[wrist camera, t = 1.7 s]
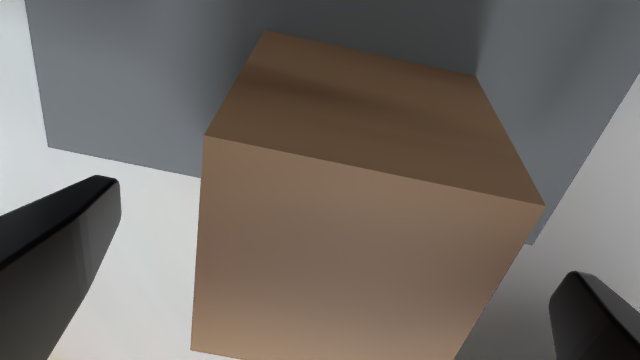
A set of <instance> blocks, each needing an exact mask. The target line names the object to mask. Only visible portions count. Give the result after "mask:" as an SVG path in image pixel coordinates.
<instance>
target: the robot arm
mask: <svg viewBox="0 0 640 360" xmlns="http://www.w3.org/2000/svg"><path fill="white" fill-rule="evenodd" d="M120 219H121V198H120V185H119V182H118V180H116V179H115V178H110V177H105V176H100V175H94V176H92V177H89V178H87V179H85V180H82V181H80V182H78V183H75V184H73V185H71V186H68V187H66V188H64V189H62V190H59V191H57V192H55V193H52V194H50V195H48V196H45V197H43V198H41V199H38V200H36V201H34V202H32V203H29V204H27V205H25V206H22V207H20V208H18V209H15V210H13V211H11V212H8V213H6V214H4V215H2V216H0V360H47V359H48V357H49V356H50V354H51V352H52V351H53V349H54V347H55V346H56V344H57V342H58V341H59V339H60V337H61V336H62V334H63V332H64V331H65V329H66V328H67V326H68V324H69V323H70V321H71V319H72V318H73V316H74V314H75V313H76V311H77V309H78V308H79V306H80V304H81V303H82V301H83V299H84V298H85V296H86V294H87V292H88V290H89V288H90V286H91V284H92V282H93V280H94V278H95V276H96V274H97V271H98V269H99V267H100V265H101V263H102V260H103V258H104V256H105V254H106V252H107V249H108V247H109V245H110V243H111V241H112V238H113V236H114V234H115V232H116V230H117V227H118V225H119V222H120ZM549 314H550V320H551V327H552V333H553V339H554V345H555V352H556V358H557V360H640V313H639V312H638V311H637V310H636V309H634V308H633V307H632V306H631V305H630V304H628V303H627V302H626V301H625V300H623V299H622V298H621V297H620V296H619V295H617V294H616V293H615V292H614V291H613V290H611V289H610V288H609V287H608V286H607V285H605V284H604V283H603V282H602V281H601V280H599V279H598V278H597V277H596V276H594V275H592V274H588V273H583V272H578V271H571V272H570V273H568V274H567V275H566V276H565V278H564V279H563V281H562V282H561V283H560V285H559V286H558V288H557V289H556V290H555V292H554V293H553V295H552V296H551V298H550V301H549Z"/></svg>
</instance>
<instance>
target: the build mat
mask: <svg viewBox="0 0 640 360" xmlns="http://www.w3.org/2000/svg"><path fill="white" fill-rule="evenodd" d="M25 5H26V12H27V18H28V24H29V30H30V37H31V43H32V49H33V55H34V62H35V68H36V74H37V80H38V87H39V93H40V99H41V105H42V112H43V118H44V124H45V131H46V137H47V143H48V147H50V148H55V149H60V150H65V151H70V152H75V153H80V154H85V155H90V156H95V157H100V158H105V159H109V160H114V161H119V162H124V163H129V164H134V165H139V166H144V167H149V168H154V169H159V170H164V171H169V172H174V173H179V174H183V175H188V176H193V177H198V178H201V172H202V156H203V140H204V134H205V132H206V131H207V129H208V127H209V125H210V124H211V122H212V120H213V118H214V117H215V115H216V113H217V112H218V110H219V108H220V106H221V105H222V103H223V101H224V99H225V98H226V96H227V94H228V93H229V91H230V89H231V87H232V86H233V84H234V82H235V80H236V79H237V77H238V75H239V74H240V72H241V70H242V68H243V67H244V65H245V63H246V61H247V60H248V58H249V56H250V55H251V53H252V51H253V49H254V48H255V46H256V44H257V42H258V41H259V39H260V37H261V36H262V34H263V32H264V30H268V31H273V32H277V33H282V34H286V35H291V36H295V37H300V38H304V39H309V40H314V41H318V42H323V43H327V44H332V45H336V46H341V47H345V48H350V49H354V50H359V51H363V52H368V53H373V54H377V55H382V56H386V57H391V58H395V59H400V60H404V61H409V62H413V63H418V64H422V65H427V66H432V67H436V68H441V69H445V70H450V71H454V72H459V73H463V74H468V75H472V76H476V77H477V79H478V81H479V83H480V85H481V87H482V89H483V90H484V92H485V94H486V96H487V98H488V100H489V101H490V103H491V105H492V107H493V109H494V111H495V112H496V114H497V116H498V118H499V120H500V122H501V124H502V125H503V127H504V129H505V131H506V133H507V135H508V136H509V138H510V140H511V142H512V144H513V146H514V147H515V149H516V151H517V153H518V155H519V157H520V158H521V160H522V162H523V164H524V166H525V168H526V170H527V171H528V173H529V175H530V177H531V179H532V181H533V182H534V184H535V186H536V188H537V190H538V192H539V193H540V195H541V197H542V199H543V201H544V203H545V205H546V208H545V210H544V211H543V213H542V215H541V216H540V218H539V219H538V221H537V223H536V224H535V226H534V228H533V229H532V231H531V233H530V234H529V236H528V238H527V239H526V241H525V243H524V244H529V245H533V243H534V242H535V240H536V238H537V237H538V235H539V233H540V232H541V230H542V229H543V227H544V225H545V224H546V222H547V221H548V219H549V217H550V216H551V214H552V213H553V211H554V209H555V208H556V206H557V205H558V203H559V201H560V200H561V198H562V196H563V195H564V193H565V192H566V190H567V188H568V187H569V185H570V184H571V182H572V180H573V179H574V177H575V176H576V174H577V172H578V171H579V169H580V168H581V166H582V164H583V163H584V161H585V159H586V158H587V156H588V155H589V153H590V151H591V150H592V148H593V147H594V145H595V143H596V142H597V140H598V139H599V137H600V135H601V134H602V132H603V130H604V129H605V127H606V126H607V124H608V122H609V121H610V119H611V118H612V116H613V114H614V113H615V111H616V110H617V108H618V106H619V105H620V103H621V102H622V100H623V98H624V97H625V95H626V93H627V92H628V90H629V89H630V87H631V85H632V84H633V82H634V81H635V79H636V77H637V76H638V74H639V73H640V0H25Z"/></svg>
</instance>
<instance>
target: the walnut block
mask: <svg viewBox="0 0 640 360" xmlns="http://www.w3.org/2000/svg"><path fill="white" fill-rule="evenodd" d="M545 208H546V205H545V203H544V201H543V199H542V197H541V195H540V193H539V192H538V190H537V188H536V186H535V184H534V182H533V181H532V179H531V177H530V175H529V173H528V171H527V170H526V168H525V166H524V164H523V162H522V160H521V158H520V157H519V155H518V153H517V151H516V149H515V147H514V146H513V144H512V142H511V140H510V138H509V136H508V135H507V133H506V131H505V129H504V127H503V125H502V124H501V122H500V120H499V118H498V116H497V114H496V112H495V111H494V109H493V107H492V105H491V103H490V101H489V100H488V98H487V96H486V94H485V92H484V90H483V89H482V87H481V85H480V83H479V81H478V79H477V77H476V76H472V75H468V74H463V73H459V72H454V71H450V70H445V69H441V68H436V67H432V66H427V65H422V64H418V63H413V62H409V61H404V60H400V59H395V58H391V57H386V56H382V55H377V54H373V53H368V52H363V51H359V50H354V49H350V48H345V47H341V46H336V45H332V44H327V43H323V42H318V41H314V40H309V39H304V38H300V37H295V36H291V35H286V34H282V33H277V32H273V31H268V30H264V32H263V34H262V36H261V37H260V39H259V41H258V42H257V44H256V46H255V48H254V49H253V51H252V53H251V55H250V56H249V58H248V60H247V61H246V63H245V65H244V67H243V68H242V70H241V72H240V74H239V75H238V77H237V79H236V80H235V82H234V84H233V86H232V87H231V89H230V91H229V93H228V94H227V96H226V98H225V99H224V101H223V103H222V105H221V106H220V108H219V110H218V112H217V113H216V115H215V117H214V118H213V120H212V122H211V124H210V125H209V127H208V129H207V131H206V132H205V134H204V140H203V156H202V172H201V188H200V204H199V220H198V236H197V252H196V268H195V284H194V300H193V316H192V332H191V348H190V350H192V351H198V352H203V353H209V354H214V355H220V356H225V357H230V358H236V359H241V360H454V358H455V356H456V355H457V353H458V352H459V350H460V348H461V347H462V345H463V343H464V342H465V340H466V338H467V337H468V335H469V333H470V332H471V330H472V328H473V327H474V325H475V323H476V322H477V320H478V319H479V317H480V315H481V314H482V312H483V310H484V309H485V307H486V305H487V304H488V302H489V300H490V299H491V297H492V295H493V294H494V292H495V290H496V289H497V287H498V285H499V284H500V282H501V281H502V279H503V277H504V276H505V274H506V272H507V271H508V269H509V267H510V266H511V264H512V262H513V261H514V259H515V257H516V256H517V254H518V252H519V251H520V249H521V248H522V246H523V244H524V243H525V241H526V239H527V238H528V236H529V234H530V233H531V231H532V229H533V228H534V226H535V224H536V223H537V221H538V219H539V218H540V216H541V215H542V213H543V211H544V210H545Z"/></svg>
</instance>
